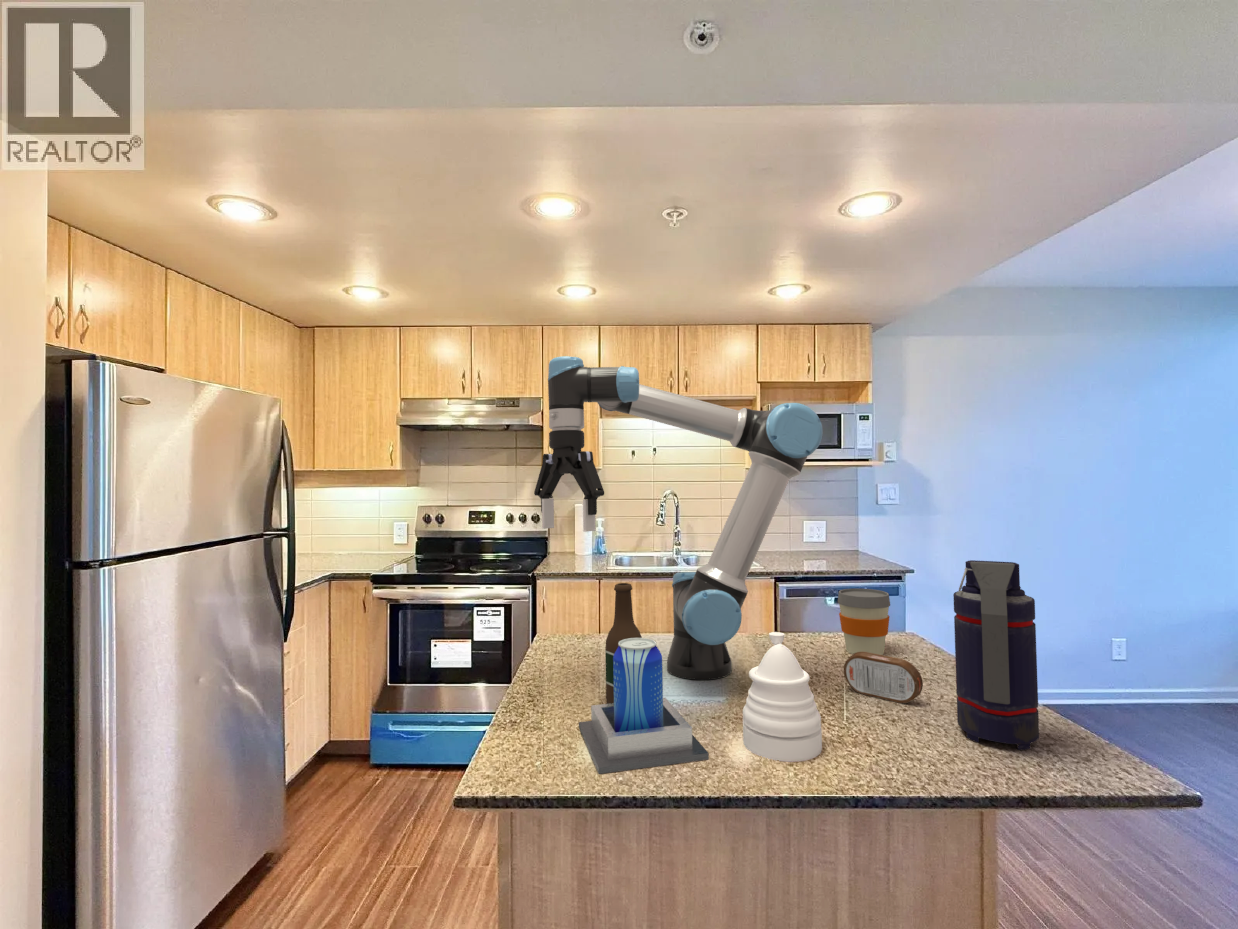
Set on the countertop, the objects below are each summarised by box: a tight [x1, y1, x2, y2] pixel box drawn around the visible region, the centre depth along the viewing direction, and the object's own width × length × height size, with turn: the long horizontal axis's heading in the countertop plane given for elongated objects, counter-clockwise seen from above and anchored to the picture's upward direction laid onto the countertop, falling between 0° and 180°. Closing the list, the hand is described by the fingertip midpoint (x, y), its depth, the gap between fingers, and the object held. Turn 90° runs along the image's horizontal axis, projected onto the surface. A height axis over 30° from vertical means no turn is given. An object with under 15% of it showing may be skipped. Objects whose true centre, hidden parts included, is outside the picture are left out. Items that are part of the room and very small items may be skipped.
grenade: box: [952, 559, 1040, 751], centre depth 103 cm, size 14×12×30 cm
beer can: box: [613, 637, 664, 733], centre depth 103 cm, size 8×8×16 cm
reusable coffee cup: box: [837, 588, 891, 655], centre depth 155 cm, size 13×13×15 cm
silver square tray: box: [578, 697, 710, 775], centre depth 103 cm, size 18×18×4 cm
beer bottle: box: [604, 582, 643, 704], centre depth 121 cm, size 8×8×24 cm
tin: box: [843, 652, 924, 704], centre depth 123 cm, size 15×3×8 cm, turn 47°
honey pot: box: [742, 631, 823, 763], centre depth 102 cm, size 13×13×18 cm
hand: (568, 529), depth 128 cm, fingers open, 13 cm apart
